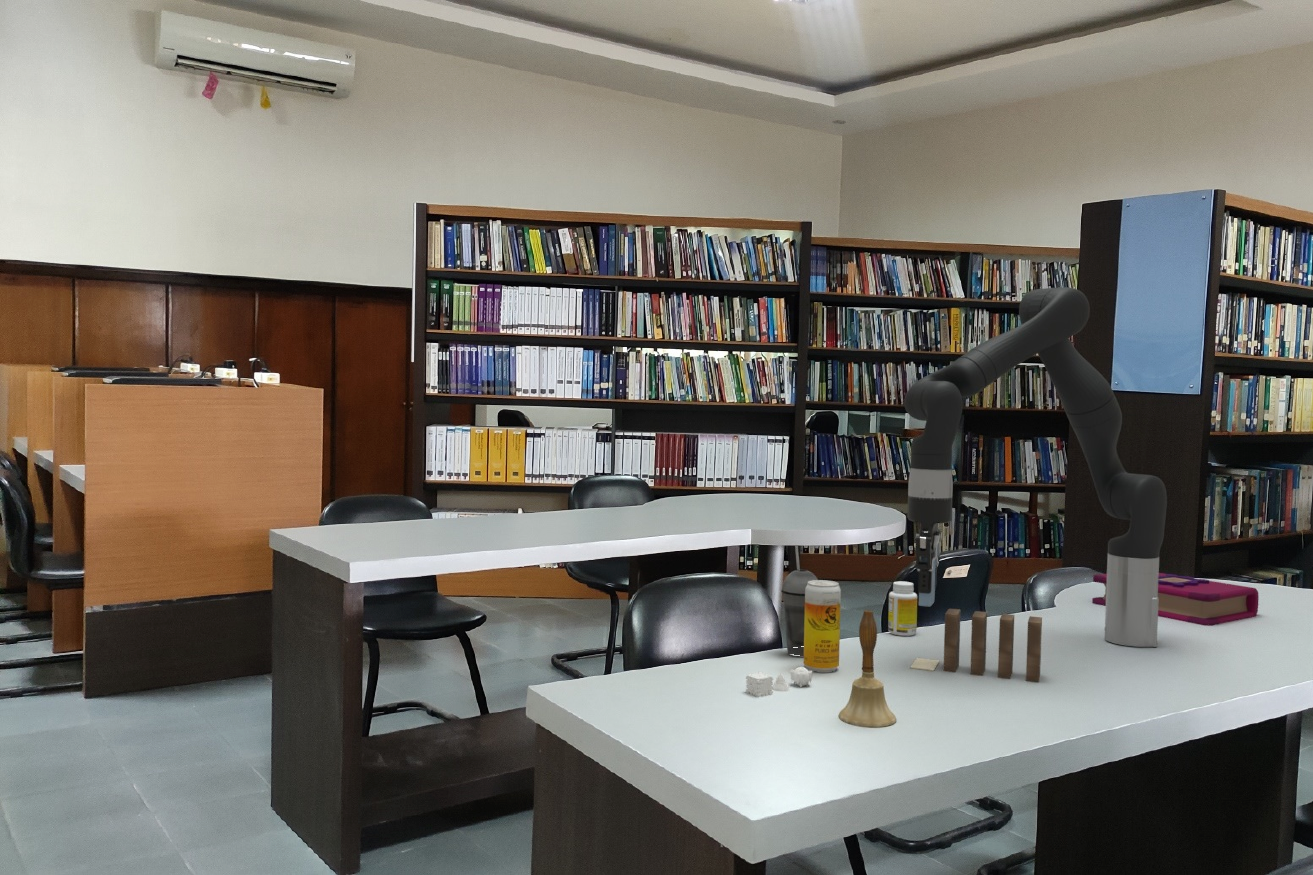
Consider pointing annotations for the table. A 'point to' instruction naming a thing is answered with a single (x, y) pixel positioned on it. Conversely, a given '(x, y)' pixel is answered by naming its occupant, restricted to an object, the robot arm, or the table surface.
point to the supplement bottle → (902, 609)
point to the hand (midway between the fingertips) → (927, 589)
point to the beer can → (822, 625)
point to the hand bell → (867, 685)
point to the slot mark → (925, 664)
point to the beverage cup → (795, 607)
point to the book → (1198, 599)
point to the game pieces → (763, 685)
